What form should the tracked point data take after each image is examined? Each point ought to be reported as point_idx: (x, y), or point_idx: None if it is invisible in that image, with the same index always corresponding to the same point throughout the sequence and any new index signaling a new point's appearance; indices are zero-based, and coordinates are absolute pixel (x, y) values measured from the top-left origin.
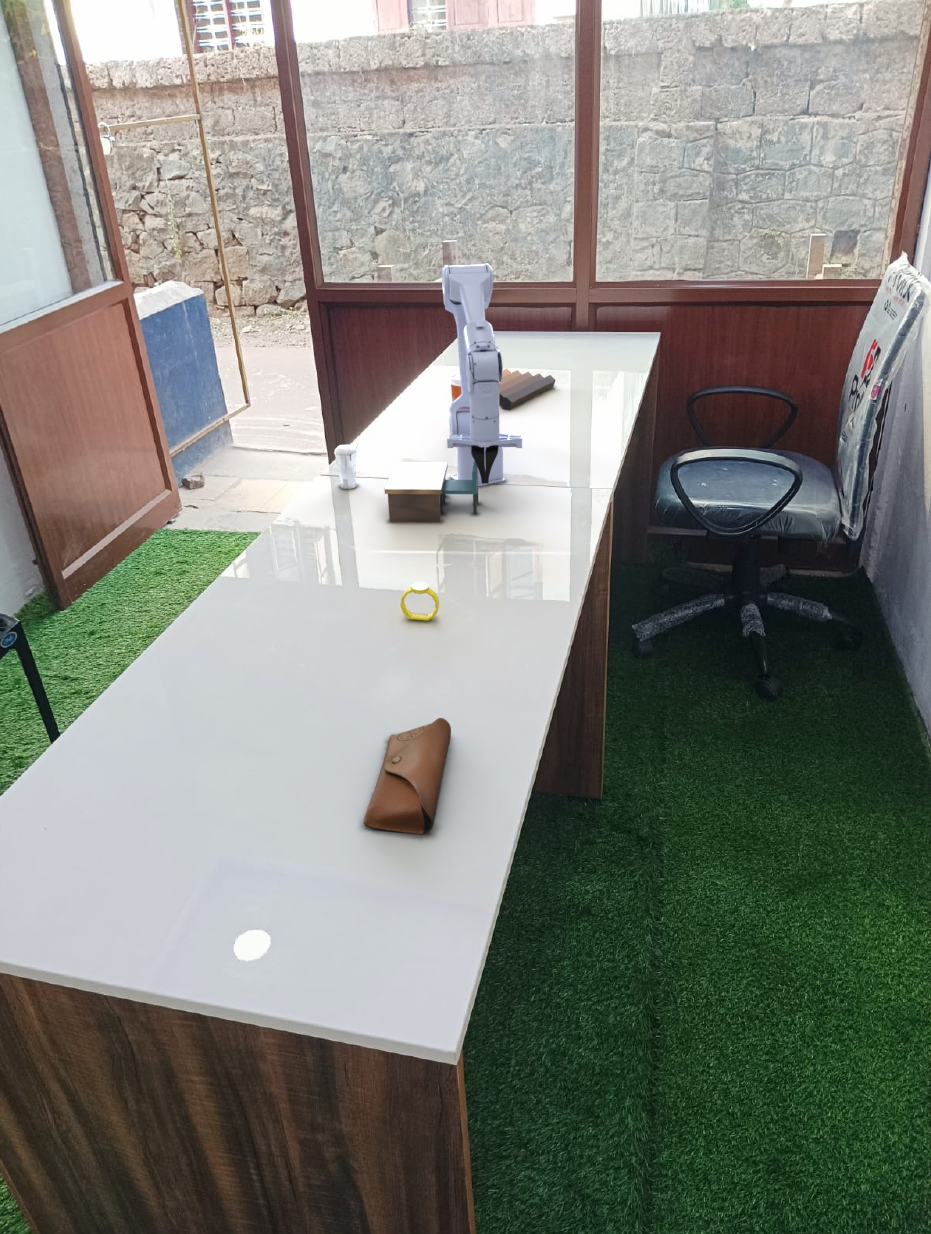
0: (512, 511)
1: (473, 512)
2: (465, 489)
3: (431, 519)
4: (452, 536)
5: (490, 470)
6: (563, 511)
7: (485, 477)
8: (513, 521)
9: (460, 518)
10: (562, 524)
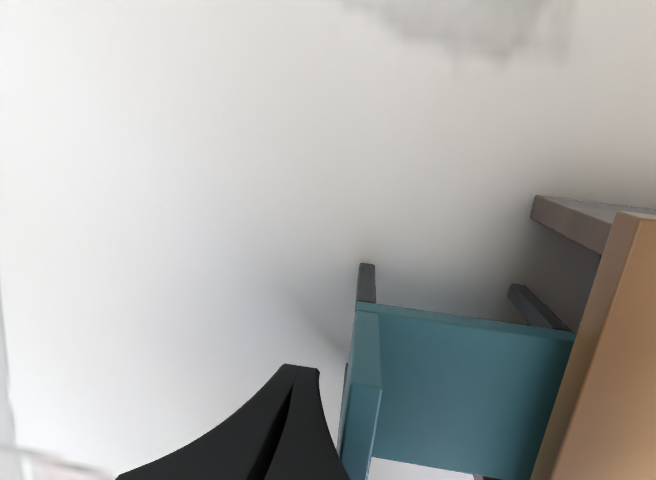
0: (213, 280)
1: (374, 267)
2: (418, 335)
3: (585, 202)
4: (499, 28)
5: (241, 407)
6: (22, 256)
7: (289, 382)
8: (210, 180)
9: (434, 236)
10: (15, 128)
